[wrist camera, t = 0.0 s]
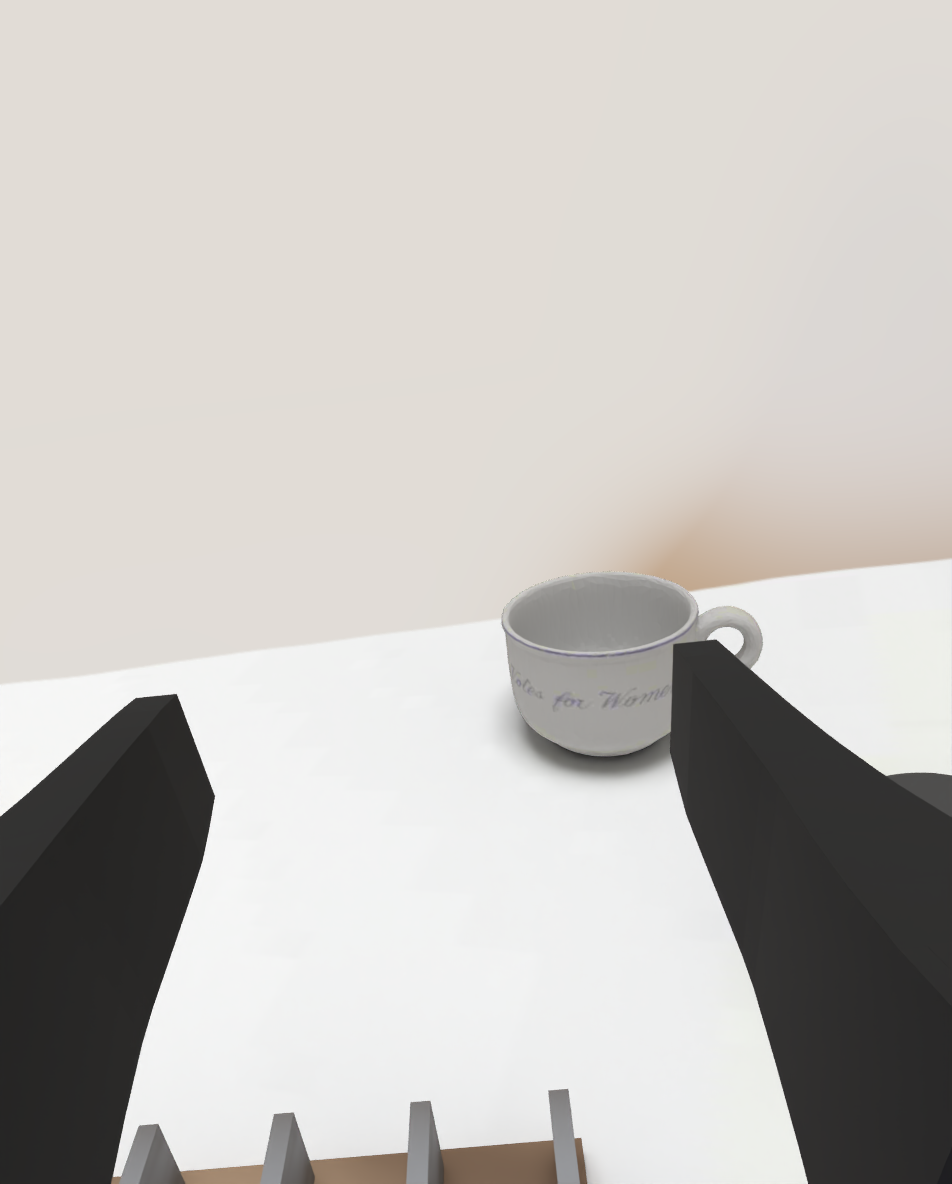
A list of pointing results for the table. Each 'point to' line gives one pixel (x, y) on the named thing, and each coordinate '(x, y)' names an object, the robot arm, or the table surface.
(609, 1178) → the table surface
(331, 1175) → the dish rack
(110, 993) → the robot arm
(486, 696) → the table surface
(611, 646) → the teacup
